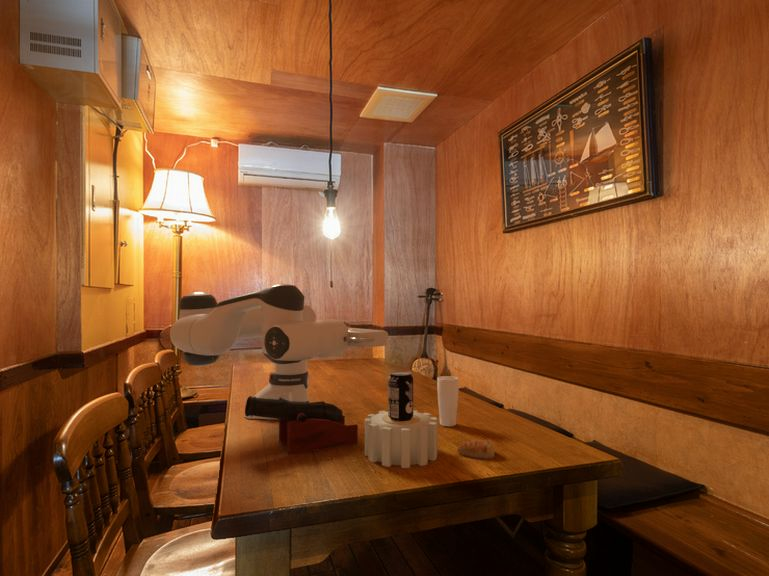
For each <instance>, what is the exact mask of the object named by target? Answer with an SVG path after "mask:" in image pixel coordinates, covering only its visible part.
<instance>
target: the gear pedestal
mask: <svg viewBox="0 0 769 576" xmlns="http://www.w3.org/2000/svg"><path fill="white" fill-rule="evenodd" d="M438 429H439V427H438V418H437V416H432V413H429V412H423V413H421V412H419V411H418V410H414V409H413V417H412V418H411V419H410V420H408V421H394V420H391V419H390V417H389V416H388V411H386V410H379V411H377V414H373V413H370V414H368V415H366V418H364V456H365V457H366V456H367V457H368V459H367V460H368V461H369V462H371V463H377V462H378V463H381V466H382V467H387V468H390V467H391V466H400V467H401V469H407V468H409V469H410V468H411V466H414V465H418V466H420V467H423V466H426V465H428V461H434V462H435V461H436V460H437V458H438V450H439V449H438V444H439V443H438V438H439V436H438V431H439V430H438Z"/></svg>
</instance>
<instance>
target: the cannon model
mask: <svg viewBox="0 0 769 576" xmlns="http://www.w3.org/2000/svg"><path fill="white" fill-rule="evenodd" d="M245 402H246V403H245V407H244V416H245V415H246V417H247V416H251V417H252V416H259V417H267V418H275V419H274V420H277V419H279V420H278V443H279V445H281V447H282V448H283V450H284V451H285V452H286V454H288V455H297V454H300V453H301V454H302V453H307V452H308V453H309V452H314V451H320V450H325V449H326V450H327V449H331V448H338V447H343V446H349V445H355V444H356V443H357V444H359V443H358V441H359V440H358V436H359V435H358V434H359V433H358V431H359V429H358V424H356V423H355V424H349V425H347V424H345V423H346V422H345V421H346V420H345V417H346V416H345V415H343V410H342V409H340V408H339V407H338V406H336V405H334V404H332V403H328V402H325V401H324V400H323V401H321V400H320V401H314V402H310V400H309V401H306V402H298V401H288V400H285V399H281V400H277V399H265V398H256V397H254V396H252V395H250V396H248V397H247V399H246V401H245ZM246 417H245V418H246Z"/></svg>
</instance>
